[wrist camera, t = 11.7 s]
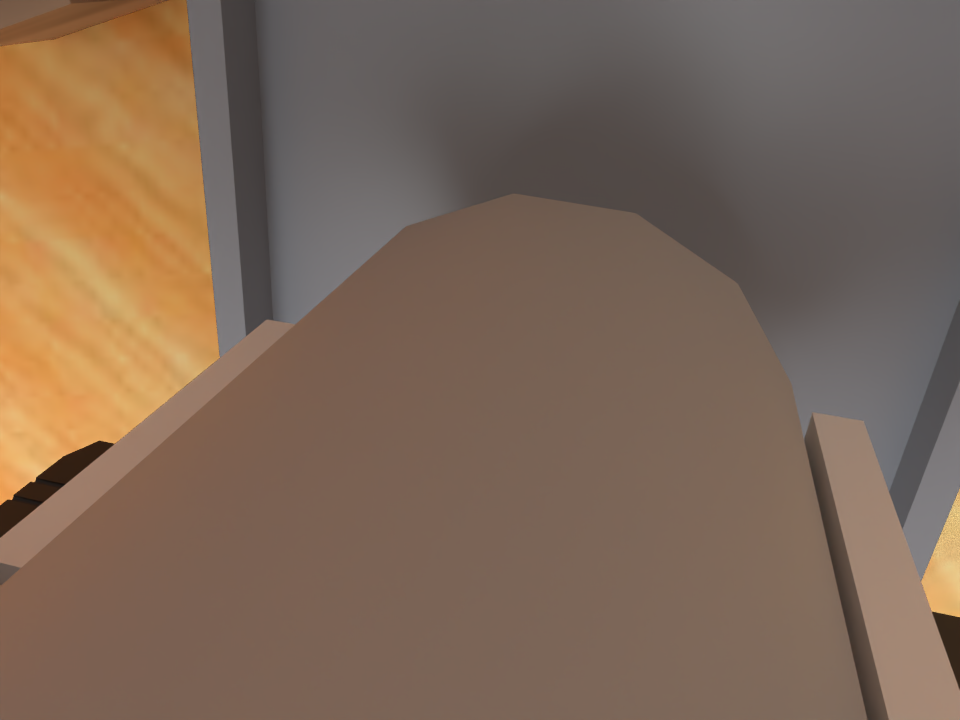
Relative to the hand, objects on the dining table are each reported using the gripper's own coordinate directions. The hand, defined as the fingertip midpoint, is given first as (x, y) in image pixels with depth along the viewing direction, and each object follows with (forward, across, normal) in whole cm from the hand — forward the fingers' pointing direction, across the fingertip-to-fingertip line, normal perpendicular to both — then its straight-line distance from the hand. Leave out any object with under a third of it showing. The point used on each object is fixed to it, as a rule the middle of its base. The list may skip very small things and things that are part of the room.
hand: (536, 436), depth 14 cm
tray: (+7, 0, 0) cm, 7 cm away
